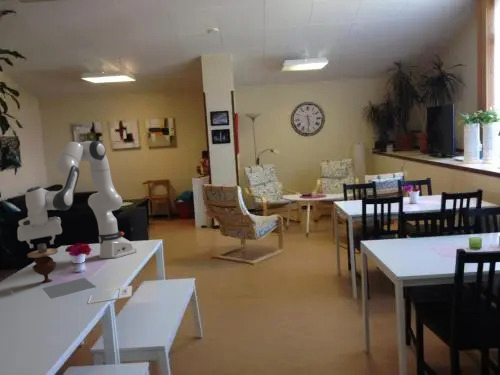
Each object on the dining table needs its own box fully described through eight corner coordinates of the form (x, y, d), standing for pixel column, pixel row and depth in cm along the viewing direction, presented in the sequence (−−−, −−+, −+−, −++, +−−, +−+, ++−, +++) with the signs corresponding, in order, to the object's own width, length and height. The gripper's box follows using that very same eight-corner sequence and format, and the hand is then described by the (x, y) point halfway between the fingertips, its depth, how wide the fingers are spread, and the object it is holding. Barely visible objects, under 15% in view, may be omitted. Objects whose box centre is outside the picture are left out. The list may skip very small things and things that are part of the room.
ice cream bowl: (49, 285, 217) (45, 256, 215) (30, 286, 219) (26, 257, 217) (63, 278, 227) (59, 250, 225) (44, 279, 229) (40, 251, 227)
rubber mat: (84, 278, 224) (84, 277, 224) (96, 287, 208) (96, 286, 208) (42, 289, 213) (42, 288, 212) (51, 299, 196) (51, 298, 196)
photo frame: (131, 295, 191) (87, 302, 187) (131, 298, 191) (88, 304, 187) (131, 285, 205) (91, 291, 201) (132, 287, 205) (92, 293, 201)
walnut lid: (54, 249, 231) (53, 239, 230) (60, 253, 220) (59, 243, 219) (25, 254, 223) (23, 245, 222) (30, 259, 211) (29, 249, 211)
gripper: (58, 215, 228) (62, 240, 229) (14, 222, 216) (18, 249, 217) (61, 216, 223) (65, 242, 224) (16, 223, 211) (21, 251, 212)
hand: (42, 246), depth 221 cm, fingers open, 8 cm apart
